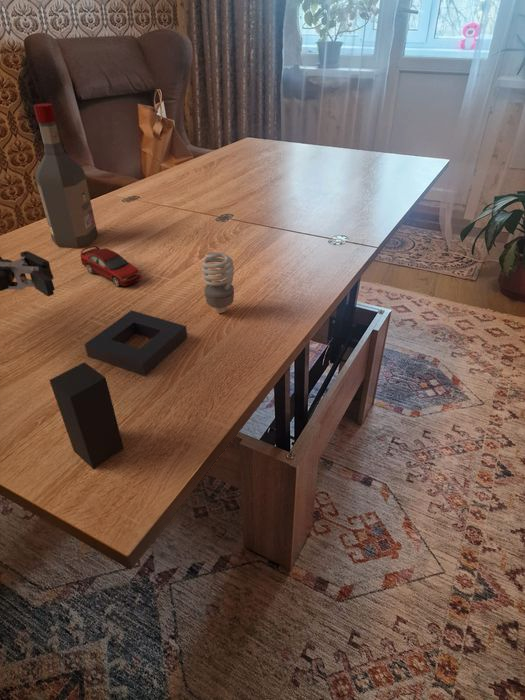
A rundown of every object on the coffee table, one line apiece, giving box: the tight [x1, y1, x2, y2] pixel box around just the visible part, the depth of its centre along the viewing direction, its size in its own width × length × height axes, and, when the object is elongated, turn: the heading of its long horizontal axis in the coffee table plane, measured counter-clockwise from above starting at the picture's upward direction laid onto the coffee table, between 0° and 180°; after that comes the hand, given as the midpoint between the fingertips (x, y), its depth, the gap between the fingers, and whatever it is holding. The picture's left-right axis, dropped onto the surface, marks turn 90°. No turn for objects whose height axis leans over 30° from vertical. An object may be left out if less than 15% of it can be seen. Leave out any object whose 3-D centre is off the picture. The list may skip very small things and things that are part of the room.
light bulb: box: [201, 251, 235, 314], centre depth 87 cm, size 6×6×12 cm
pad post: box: [49, 361, 125, 470], centre depth 59 cm, size 5×5×12 cm
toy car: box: [80, 245, 142, 288], centre depth 101 cm, size 6×15×5 cm, turn 47°
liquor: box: [33, 102, 99, 249], centre depth 109 cm, size 9×9×30 cm
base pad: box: [84, 309, 188, 377], centre depth 81 cm, size 12×12×2 cm
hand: (16, 301), depth 58 cm, fingers open, 8 cm apart
